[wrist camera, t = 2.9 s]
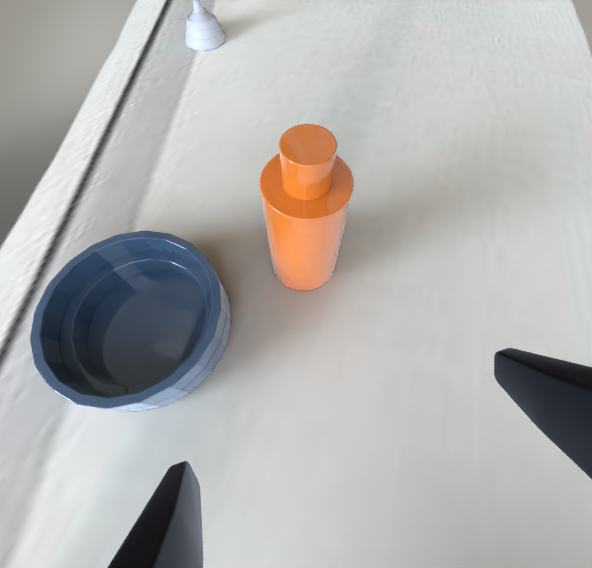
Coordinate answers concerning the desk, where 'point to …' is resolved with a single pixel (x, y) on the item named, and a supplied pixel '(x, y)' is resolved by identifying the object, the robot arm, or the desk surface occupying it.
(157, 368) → the bowl
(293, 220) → the orange bottle
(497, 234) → the desk surface
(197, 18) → the chalice
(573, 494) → the desk surface
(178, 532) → the robot arm
